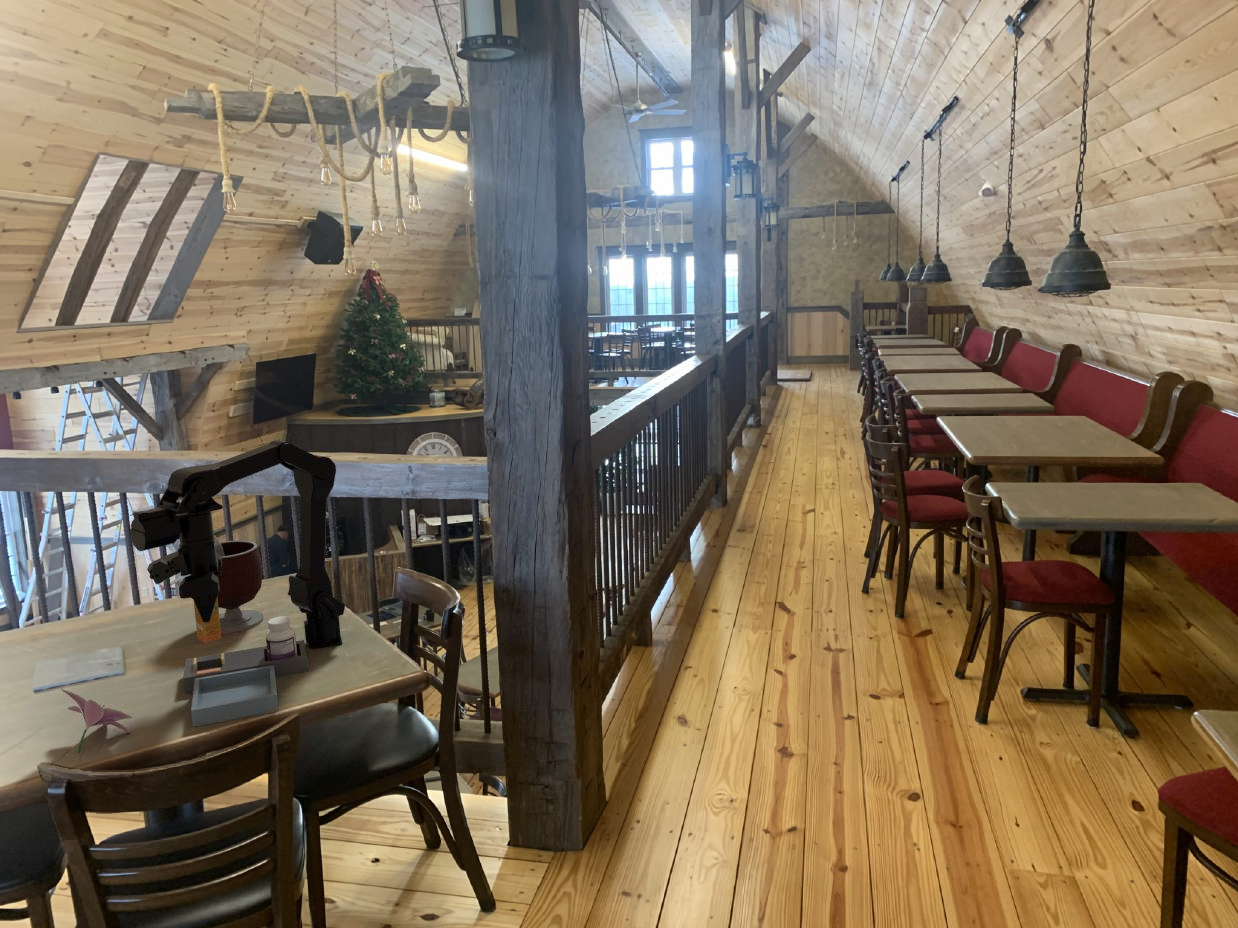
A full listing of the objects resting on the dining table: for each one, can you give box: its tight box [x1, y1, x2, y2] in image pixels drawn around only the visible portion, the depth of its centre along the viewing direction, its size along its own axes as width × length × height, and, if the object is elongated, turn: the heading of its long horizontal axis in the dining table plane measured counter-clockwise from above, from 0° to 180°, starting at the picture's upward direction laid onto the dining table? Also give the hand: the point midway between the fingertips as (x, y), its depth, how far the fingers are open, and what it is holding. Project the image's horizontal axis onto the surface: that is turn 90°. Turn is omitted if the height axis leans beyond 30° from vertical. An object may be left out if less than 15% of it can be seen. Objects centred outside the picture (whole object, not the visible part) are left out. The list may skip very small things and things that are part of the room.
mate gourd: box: [213, 535, 265, 634], centre depth 196 cm, size 16×14×20 cm
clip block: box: [182, 639, 309, 694], centre depth 171 cm, size 22×9×4 cm, turn 113°
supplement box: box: [193, 597, 222, 644], centre depth 165 cm, size 3×3×10 cm
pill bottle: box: [265, 615, 297, 661], centre depth 173 cm, size 5×5×10 cm
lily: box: [60, 689, 133, 754], centre depth 146 cm, size 12×12×10 cm
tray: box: [190, 665, 279, 728], centre depth 159 cm, size 14×14×3 cm
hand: (207, 617), depth 165 cm, fingers closed on supplement box, 4 cm apart
